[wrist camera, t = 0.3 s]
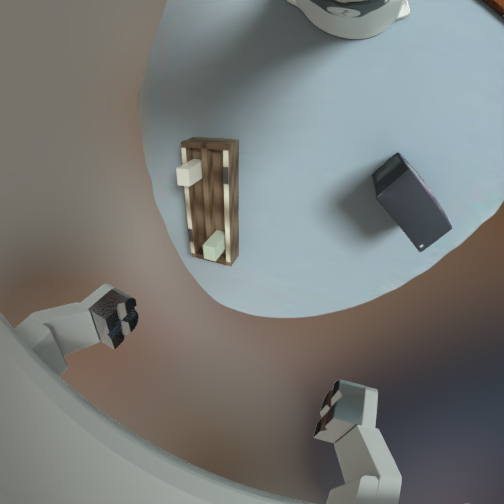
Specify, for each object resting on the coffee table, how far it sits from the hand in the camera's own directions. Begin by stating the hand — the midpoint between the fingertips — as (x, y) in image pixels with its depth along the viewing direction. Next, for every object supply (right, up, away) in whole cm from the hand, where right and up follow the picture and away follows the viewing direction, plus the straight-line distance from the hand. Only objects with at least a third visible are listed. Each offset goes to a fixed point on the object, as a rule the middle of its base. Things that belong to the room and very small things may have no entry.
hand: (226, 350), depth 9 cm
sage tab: (-5, +6, +44) cm, 45 cm away
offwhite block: (-8, +19, +37) cm, 43 cm away
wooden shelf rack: (-6, +14, +43) cm, 45 cm away
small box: (+25, +14, +29) cm, 41 cm away
